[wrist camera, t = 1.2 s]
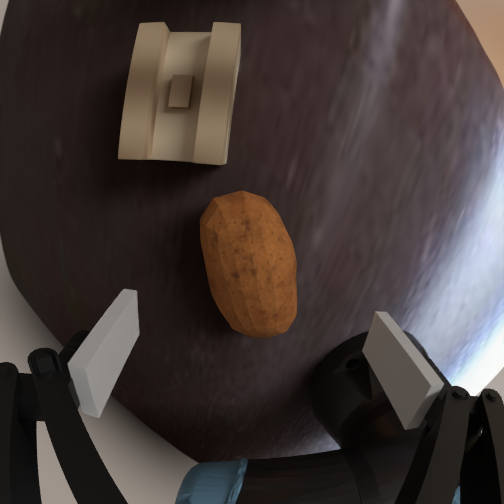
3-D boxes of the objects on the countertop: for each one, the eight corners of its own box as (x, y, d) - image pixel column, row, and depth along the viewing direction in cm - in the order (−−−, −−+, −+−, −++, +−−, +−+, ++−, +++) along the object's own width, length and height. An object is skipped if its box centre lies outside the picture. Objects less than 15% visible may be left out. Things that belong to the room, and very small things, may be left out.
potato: (278, 179, 25) (292, 187, 19) (298, 311, 29) (313, 354, 22) (195, 195, 26) (179, 208, 19) (226, 324, 29) (223, 370, 23)
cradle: (226, 163, 25) (221, 165, 19) (146, 157, 24) (117, 158, 18) (240, 53, 22) (240, 23, 16) (161, 50, 21) (139, 23, 15)
